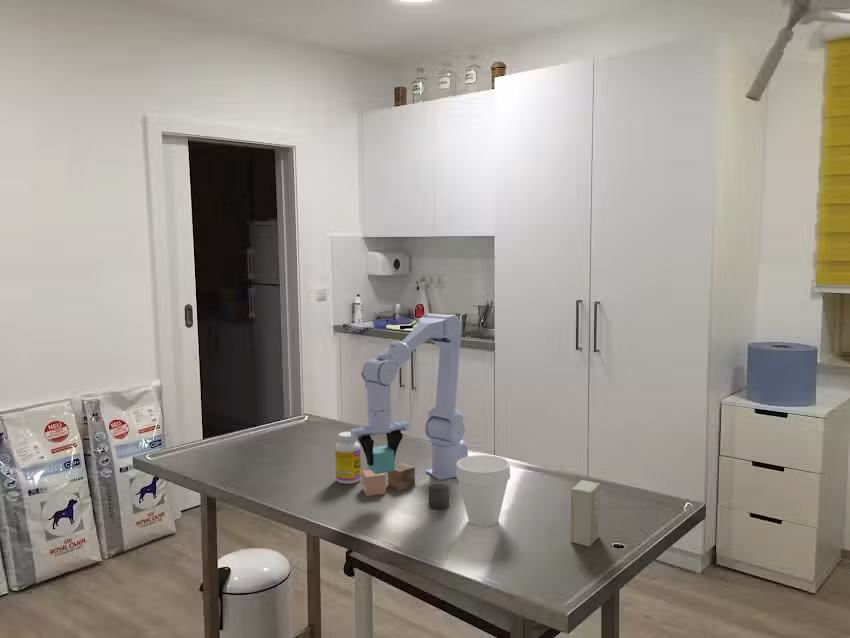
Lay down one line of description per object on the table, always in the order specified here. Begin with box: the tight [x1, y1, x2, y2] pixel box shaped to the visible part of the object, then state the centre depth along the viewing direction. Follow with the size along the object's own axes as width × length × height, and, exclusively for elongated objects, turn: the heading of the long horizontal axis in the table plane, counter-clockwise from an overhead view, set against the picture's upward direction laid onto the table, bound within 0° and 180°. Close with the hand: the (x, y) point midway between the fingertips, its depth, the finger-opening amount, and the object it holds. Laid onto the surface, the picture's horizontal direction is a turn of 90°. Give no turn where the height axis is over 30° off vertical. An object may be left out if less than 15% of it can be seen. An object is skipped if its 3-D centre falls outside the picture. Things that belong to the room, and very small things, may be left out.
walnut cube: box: [387, 462, 416, 491], centre depth 189 cm, size 5×5×5 cm
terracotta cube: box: [361, 469, 387, 497], centre depth 185 cm, size 5×5×5 cm
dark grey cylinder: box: [427, 482, 450, 511], centre depth 175 cm, size 5×5×5 cm
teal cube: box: [367, 445, 396, 474], centre depth 177 cm, size 5×5×5 cm
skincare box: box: [570, 479, 601, 547], centre depth 154 cm, size 6×4×12 cm
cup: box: [455, 454, 511, 528], centre depth 165 cm, size 12×12×14 cm
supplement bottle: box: [334, 431, 362, 485], centre depth 193 cm, size 7×7×13 cm
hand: (380, 462), depth 177 cm, fingers closed on teal cube, 5 cm apart
